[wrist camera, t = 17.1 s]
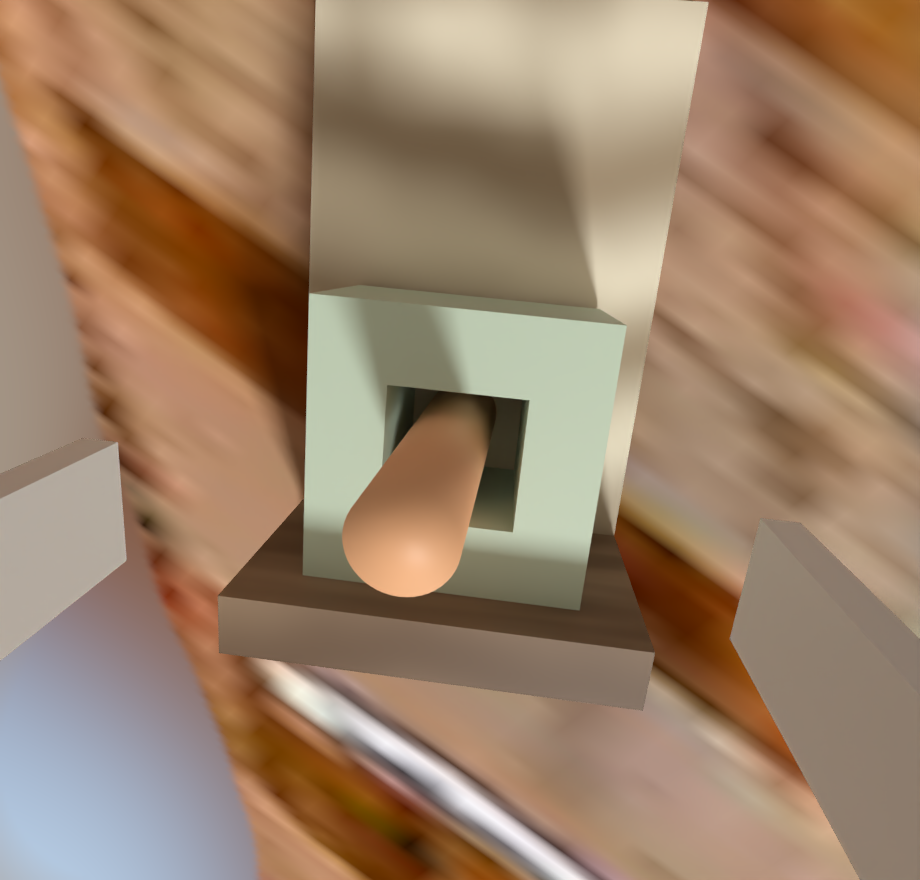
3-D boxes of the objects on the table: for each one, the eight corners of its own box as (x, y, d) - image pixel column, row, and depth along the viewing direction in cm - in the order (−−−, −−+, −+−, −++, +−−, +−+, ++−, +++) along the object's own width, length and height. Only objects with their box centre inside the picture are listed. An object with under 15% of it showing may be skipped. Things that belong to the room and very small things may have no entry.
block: (359, 284, 24) (309, 293, 18) (599, 308, 23) (626, 325, 17) (349, 505, 26) (302, 575, 20) (565, 531, 26) (579, 610, 20)
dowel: (433, 376, 25) (342, 479, 13) (499, 383, 24) (466, 492, 13) (429, 440, 25) (341, 589, 14) (493, 446, 25) (458, 603, 14)
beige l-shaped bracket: (329, -8, 23) (202, -187, 13) (695, 19, 22) (823, -152, 13) (313, 547, 29) (219, 680, 20) (598, 582, 28) (636, 737, 19)
